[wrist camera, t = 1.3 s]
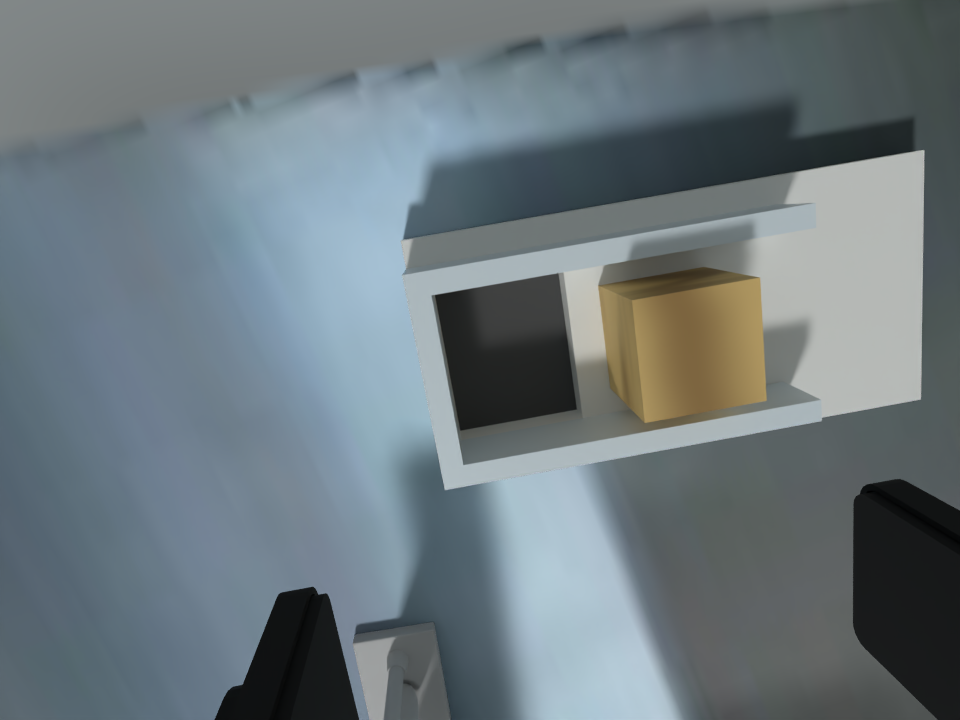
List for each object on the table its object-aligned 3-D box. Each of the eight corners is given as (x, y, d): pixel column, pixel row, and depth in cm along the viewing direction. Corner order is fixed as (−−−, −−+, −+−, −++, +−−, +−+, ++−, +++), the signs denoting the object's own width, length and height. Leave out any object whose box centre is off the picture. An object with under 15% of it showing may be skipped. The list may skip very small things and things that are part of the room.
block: (703, 266, 28) (760, 277, 23) (711, 369, 29) (766, 400, 24) (598, 285, 27) (631, 300, 23) (610, 388, 29) (645, 422, 24)
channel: (899, 153, 28) (983, 142, 24) (898, 390, 31) (972, 419, 27) (402, 239, 28) (396, 243, 23) (448, 473, 31) (449, 515, 26)
